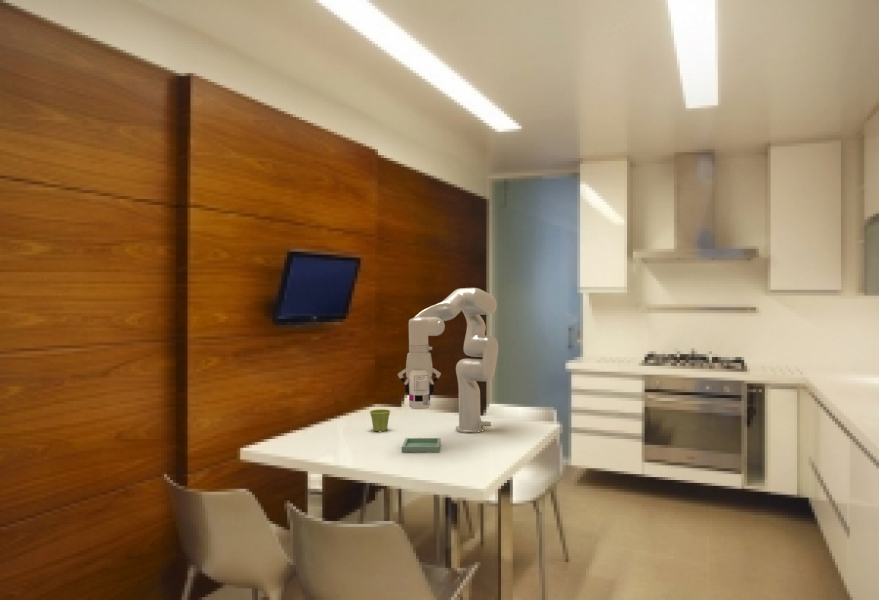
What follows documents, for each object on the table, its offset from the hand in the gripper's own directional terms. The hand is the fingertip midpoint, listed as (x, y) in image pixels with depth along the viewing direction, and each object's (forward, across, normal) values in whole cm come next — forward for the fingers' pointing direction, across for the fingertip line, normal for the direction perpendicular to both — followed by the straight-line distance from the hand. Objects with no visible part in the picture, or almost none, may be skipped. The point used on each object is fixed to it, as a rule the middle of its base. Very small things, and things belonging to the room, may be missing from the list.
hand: (419, 394), depth 210 cm
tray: (+21, 0, +1) cm, 21 cm away
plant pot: (+21, +21, -30) cm, 42 cm away
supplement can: (+5, 0, 0) cm, 5 cm away
